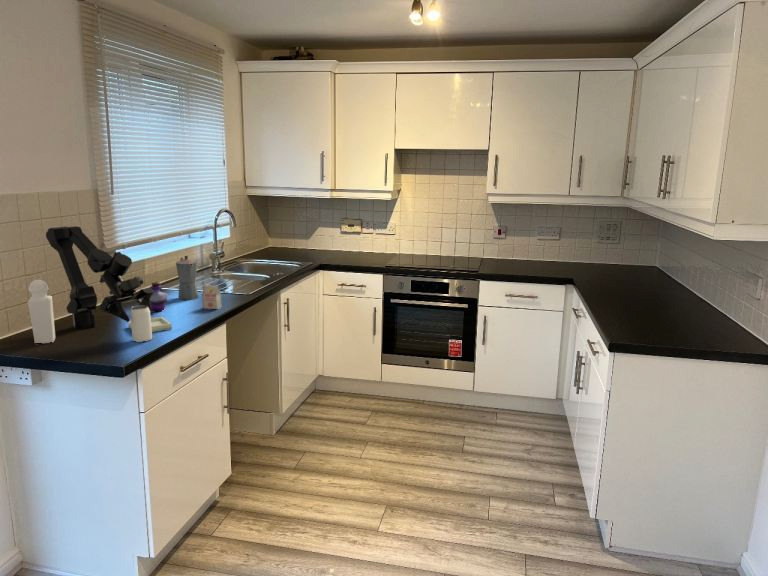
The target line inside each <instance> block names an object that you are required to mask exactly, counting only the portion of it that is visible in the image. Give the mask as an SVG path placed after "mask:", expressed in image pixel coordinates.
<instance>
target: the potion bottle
mask: <svg viewBox="0 0 768 576" xmlns="http://www.w3.org/2000/svg"><path fill="white" fill-rule="evenodd" d="M150 288H151V289H152V290H153V292H154V293H153V295H152V296H151V298H150V306H151V311H152V312H153V311H160V312H163V311H162V310H164V309H165V310H166V303H167V301H168V295H169V294H168V293H166V292H162V291H161V289H162V288H163V285H161V282H159V281H157V282H152V283H151V285H150ZM165 310H164V311H165Z"/></svg>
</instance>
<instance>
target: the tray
mask: <svg viewBox="0 0 768 576" xmlns="http://www.w3.org/2000/svg"><path fill="white" fill-rule="evenodd" d="M127 323H128V328H129V329H130V330H131V331H132V329H131V320H130V321H129V322H127ZM151 328H152V332H153V333H157V332H156V331H159V332H163V331H162V330H165V331H170V330H169V329H171V330H172V328H173V327H172V323H171V322H170V321H168V319H166V318H164V317H163V316H159V317H151Z"/></svg>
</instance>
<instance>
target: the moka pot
mask: <svg viewBox="0 0 768 576" xmlns="http://www.w3.org/2000/svg"><path fill="white" fill-rule="evenodd" d="M188 257H189V256H188V255H185V256H184V258H183V257H180V259H179V260H177V261H176V263H175V265H176V270H177V271H176V272H177V276H178V279H179V285H178V287H179V288H178V297H177V298H178V299H179V300H180V301H181V300H182V301H192V300H195V299H196V298H197V299H198V298H199V297H200V295H199V290H198V286H197V285H198V284H197V281H196V280H197V279H196V277H197V267H198V261H197V260H195V259H188Z"/></svg>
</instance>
